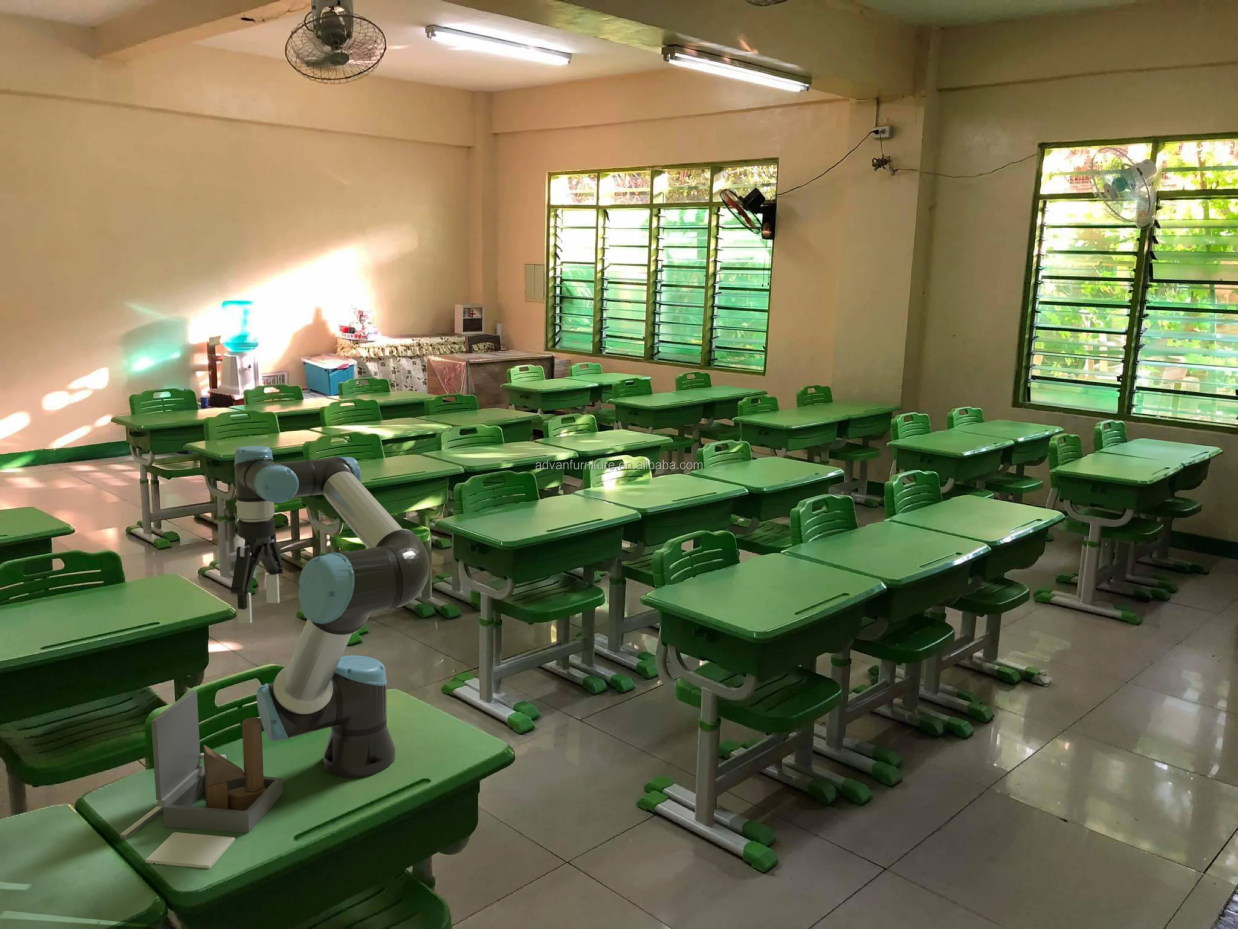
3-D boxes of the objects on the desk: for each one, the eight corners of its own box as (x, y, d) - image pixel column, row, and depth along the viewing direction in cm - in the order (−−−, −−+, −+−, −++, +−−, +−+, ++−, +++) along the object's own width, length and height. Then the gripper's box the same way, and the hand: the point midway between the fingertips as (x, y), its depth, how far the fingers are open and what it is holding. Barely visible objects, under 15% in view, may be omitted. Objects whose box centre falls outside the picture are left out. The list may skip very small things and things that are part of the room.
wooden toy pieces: (206, 812, 186) (201, 726, 183) (263, 798, 192) (260, 714, 189) (209, 820, 183) (204, 733, 180) (267, 806, 189) (264, 722, 186)
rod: (163, 807, 188) (162, 801, 188) (168, 808, 188) (168, 802, 188) (120, 840, 177) (119, 834, 176) (125, 841, 176) (125, 835, 176)
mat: (235, 840, 177) (234, 837, 177) (209, 868, 168) (209, 865, 168) (174, 835, 178) (173, 832, 178) (145, 862, 169) (145, 859, 169)
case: (284, 794, 194) (280, 695, 190) (249, 833, 179) (244, 727, 176) (199, 787, 195) (194, 689, 192) (157, 825, 181) (151, 720, 177)
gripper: (264, 504, 217) (267, 593, 221) (210, 530, 192) (214, 630, 196) (296, 506, 216) (299, 595, 220) (245, 532, 192) (249, 632, 195)
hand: (259, 612), depth 208 cm, fingers open, 13 cm apart
